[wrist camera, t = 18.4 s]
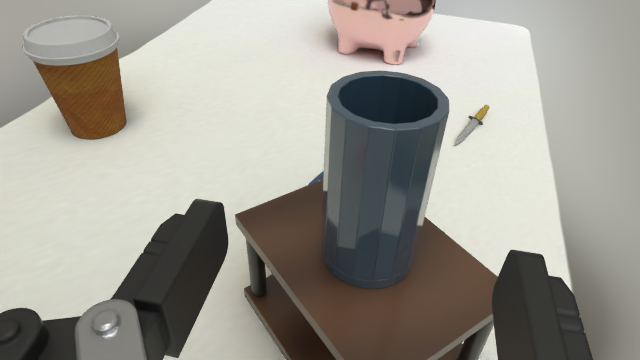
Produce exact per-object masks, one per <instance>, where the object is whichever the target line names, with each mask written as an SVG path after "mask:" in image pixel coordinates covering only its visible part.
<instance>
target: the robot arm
mask: <svg viewBox="0 0 640 360" xmlns="http://www.w3.org/2000/svg"><path fill="white" fill-rule="evenodd" d="M227 249H228V234H227V227H226V219H225V212H224V206H223V204H222V203H220V202H214V201H208V200H201V199H195V200H194V201H193V202H192V204H191V205H190V207H189V209H188V210H187V212H186V214H185V215H181V214H174V215H173V216H172V217H170V218H169V219H168V220H166V221H165V222H164V223H162V224H161V225H160V226H159V228H158V229H157V231H156V232H155V234H154V235H153V237H152V238H151V242H149V243H148V244H147V246H146V247H145V249H144V252H143V253H141V255H140V256H139V258H138V259H137V261H136V262H135V264H134V265H133V267H132V268H131V270H130V271H129V273H128V274H127V276H126V278H125V279H124V281H123V282H122V284H121V285H120V287H119V288H118V290H117V291H116V293H115V294H114V295H113V297H112V298H111V299H110V300H107V301H103V302H101V303H98V304H96V305H94V306H93V307H91V308H90V309H88V310H87V311H86V312H85V313H84V314H83V315H82V316H79V317H72V318H63V319H54V320H45V321H42V320H41V318H40V317H39V315H38V314H37V313H36V312H35V311H33V310H31V309H27V308H16V309H11V310H8V311H5V312H2V313H0V360H163V358H164V356H165V355H167V356H172V357H176V358H178V357H179V355H180V353H181V351H182V349H183V347H184V345H185V343H186V340H187V338H188V336H189V334H190V332H191V330H192V328H193V325H194V323H195V321H196V319H197V317H198V315H199V313H200V311H201V308H202V306H203V304H204V302H205V300H206V298H207V296H208V294H209V291H210V289H211V287H212V285H213V283H214V281H215V279H216V277H217V274H218V272H219V270H220V268H221V266H222V264H223V262H224V259H225V257H226V253H227ZM492 312H493V321H494V329H495V338H496V346H497V355H498V360H593V358H592V355H591V352H590V348H589V345H588V341H587V338H586V334H585V333H584V327H583V324H582V321H581V318H579V310H578V307H577V304H576V300H575V297H574V295H573V293H572V292H571V291H570V289H569V288H568V287H567V285H566V284H565V283H564V281H563V280H562V279H561V278H559V277H553V276H548V272H547V268H546V264H545V260H544V257H543V256H542V255H541V254H536V253H530V252H523V251H517V250H510V251H509V253H508V255H507V257H506V260H505V262H504V264H503V267H502V269H501V271H500V274H499V276H498V278H497V280H496V283H495V285H494V289H493V294H492Z"/></svg>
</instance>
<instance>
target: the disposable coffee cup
mask: <svg viewBox="0 0 640 360" xmlns="http://www.w3.org/2000/svg"><path fill="white" fill-rule="evenodd" d="M23 40H24V44H23V46H22V48H23V51H24V53H25V54H26V55H27V56H29V58H30V59H31V60H32V61H33V62H34V64H35V65H36V67H37V69H38V71H39V73H40V75H41V76H42V78H43V80H44V82H45V84H46V85H47V87H48V89H49V91H50V93H51V95H52V97H53V99H54V100H55V102H56V104H57V106H58V108H59V109H60V111H61V113H62V115H63V117H64V118H65V121H66V122H67V124H68V126H69V128H70V129H71V131H72V133H73V135H75V136H77V137H79V138H84V139H98V138H103V137H107V136H110V135H113V134H115V133H117V132H118V131H120V130H121V129H122V128H123V127H124V126H125V125H126V115H125V108H124V100H123V91H122V84H121V76H120V68H119V60H118V52H117V46H118V41H119V34H118V33H117V32H116V31H115V30H114V29H113V27H112V25H111V23H110V22H109V21H108V20H106V19H104V18H100V17H96V16H83V15H77V16H65V17H58V18H53V19H49V20H45V21H42V22H39V23H36V24H34V25H32V26H30V27H29V28H28V29H26V30H25V31H24V34H23Z"/></svg>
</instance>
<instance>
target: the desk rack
mask: <svg viewBox="0 0 640 360" xmlns="http://www.w3.org/2000/svg"><path fill="white" fill-rule="evenodd" d="M322 203H323V180H320V181H318V182H315V183H313V184H310V185H308V186H305V187H303V188H300V189H298V190H296V191H293V192H291V193H288V194H286V195H283V196H281V197H278V198H276V199H273V200H271V201H268V202H266V203H263V204H261V205H258V206H256V207H253V208H251V209H248V210H246V211H243V212H241V213H238V214H236V215H235V218H236V225H237V226H238V228H239V229H240V230H241V232H242V233H243V235H244V236H245V237H246V245H247V254H248V263H249V272H250V282H251V285H250V286H248V287H246V288H244V291H245V297H246V298H247V300H248V301H249V303H250V304H251V306H252V307H253V309H254V310H255V312H256V313H257V315H258V316H259V318H260V320H261V321H262V323H263V324H264V326H265V327H266V329H267V330H268V332H269V333H270V335H271V336H272V338H273V339H274V341H275V342H276V344H277V346H278V347H279V349H280V350H281V352H282V353H283V355H284V356H285V358H286V359H287V360H478V358H479V356H480V354H481V352H482V349H483V347H484V345H485V343H486V341H487V338H488V336H489V334H490V332H491V330H492V328H493V325H494V321H493V312H492V294H493V289H494V285H495V283H496V280H497V278H498V277H497V276H496V275H495V274H494V273H492V272H491V271H490V270H489V269H488V268H486V267H485V266H484V265H483V264H481V263H480V262H479V261H478V260H477V259H475V258H474V257H473V256H472V255H471V254H469V253H468V252H467V251H466V250H465V249H463V248H462V247H461V246H460V245H458V244H457V243H456V242H455V241H454V240H452V239H451V238H450V237H449V236H448V235H446V234H445V233H444V232H443V231H442V230H440V229H439V228H438V227H437V226H435V225H434V224H433V223H432V222H431V221H429V220H428V219H427V218H426V217H424V221H423V225H422V230H421V234H420V238H419V242H418V247H417V251H416V255H415V258H414V261H413V265H412V268H411V270H410V271H409V273H408V274H407V275H406V276H405V277H404V278H403V279H402V280H401V281H399V282H398V283H396V284H394V285H391V286H388V287H385V288H379V289H365V288H359V287H355V286H352V285H349V284H347V283H345V282H343V281H341V280H340V279H338V278H337V277H335V276H334V275H333V274H332V273H331V272H330V271H329V269H328V268H327V267H326V265H325V263H324V261H323V258H322V253H321V247H322V244H321V228H322ZM265 264H266V265H267V267H268V268H269V270H270V271H271V272H272V274H273V275H271V276H269V277H267V278H266V272H265ZM464 340H465V341H464ZM462 341H464V344H462V343H461V342H462Z"/></svg>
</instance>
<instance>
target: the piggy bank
mask: <svg viewBox="0 0 640 360" xmlns="http://www.w3.org/2000/svg"><path fill="white" fill-rule="evenodd" d="M435 3H436V0H328V8H329V13H330V16H331V19H332V21H333V24H334V26H335V29H336V31H337V34H338V37H339V43H338V51H339V52H341V53H344V54H351V53H354V52H355V51H356V50H357V49H358V48H369V49H377V50H382V51H383V56H384V61H385V62H386V63H389V64H400V63H402V62H403V58H404V54H405V50H406V47H415V46H417V44H418V37H419V36H420V35H421V34H422V32H423V31H424V30H425V29H426V27H427V26H428V24H429V22H430V20H431V18H432V15H433V13H434V9H435Z"/></svg>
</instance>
